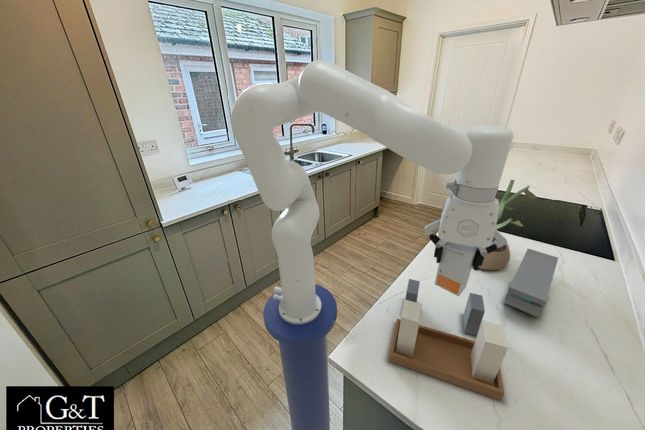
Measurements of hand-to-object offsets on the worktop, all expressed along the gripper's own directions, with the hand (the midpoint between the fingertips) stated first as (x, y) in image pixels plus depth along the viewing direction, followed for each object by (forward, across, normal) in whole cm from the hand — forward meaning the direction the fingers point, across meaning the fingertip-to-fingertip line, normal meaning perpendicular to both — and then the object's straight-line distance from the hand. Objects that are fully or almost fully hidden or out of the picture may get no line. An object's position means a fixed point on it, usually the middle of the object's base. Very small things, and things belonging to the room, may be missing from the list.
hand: (456, 262), depth 60 cm
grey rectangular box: (+23, +24, +22) cm, 41 cm away
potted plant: (+23, +17, +44) cm, 52 cm away
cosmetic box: (+7, 0, 0) cm, 7 cm away
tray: (+23, +1, -7) cm, 25 cm away
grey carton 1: (+24, -8, +6) cm, 26 cm away
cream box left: (+23, -8, -7) cm, 25 cm away
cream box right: (+23, +9, -7) cm, 26 cm away
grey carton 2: (+23, +8, +6) cm, 25 cm away
